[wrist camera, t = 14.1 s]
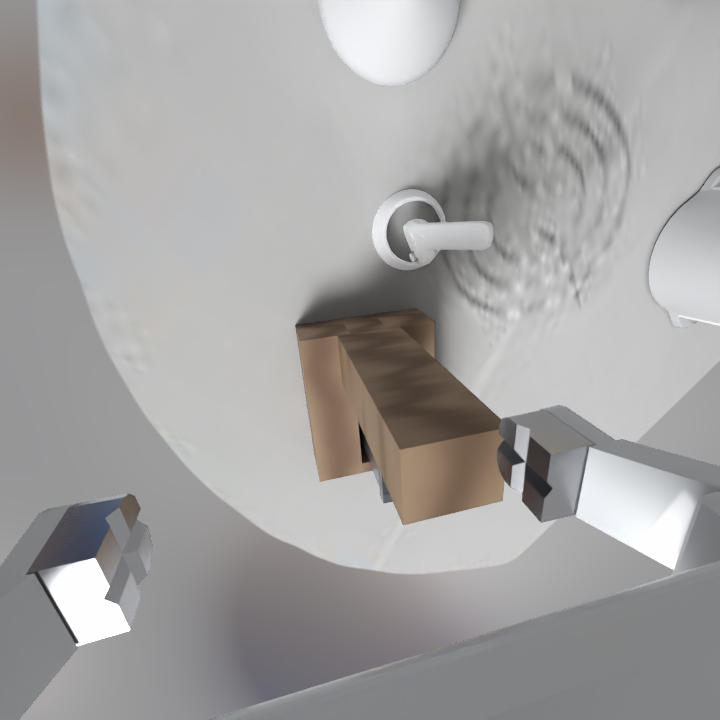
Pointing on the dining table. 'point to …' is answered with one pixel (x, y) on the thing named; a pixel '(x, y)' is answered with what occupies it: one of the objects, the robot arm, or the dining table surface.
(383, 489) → the grey rectangular block
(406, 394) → the wooden l-shaped post
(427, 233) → the white ring with bar
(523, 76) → the dining table surface
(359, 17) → the flower in vase
